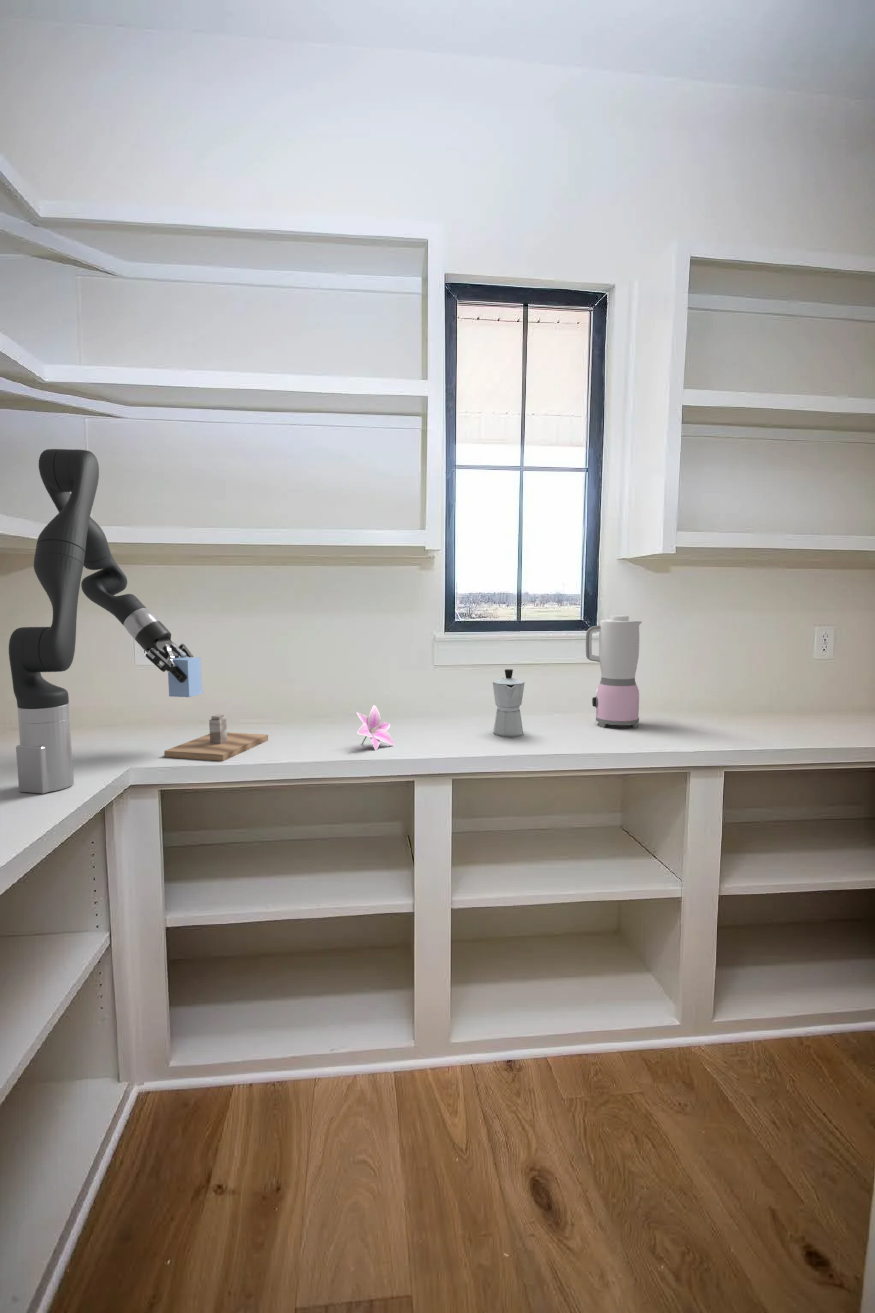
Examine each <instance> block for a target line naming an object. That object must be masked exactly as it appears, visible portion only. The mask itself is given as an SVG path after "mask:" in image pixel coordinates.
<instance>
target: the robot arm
mask: <svg viewBox="0 0 875 1313" xmlns="http://www.w3.org/2000/svg"><path fill="white" fill-rule="evenodd" d="M38 472H39V476H40V479H41V481H42V483H43V486H44V488H45V489H46V491H47V493H48V496H49V497H50V499H51V501H52V503H53V504H54V506H55V507H56V510H57V511H58V513H57V514H56V515H55V516H54V517H53V518H52V519H51V521H49V522H48V523H47V525H46V526H44V527H43V529H42V530H41V532H40V533H39V535H38V537H37V540H36V546H35V552H34V557H33V570H34V573H35V575H36V577H37V579H38V581H39V584H40V585H41V586H42V588H43V590H44V592H45V593H46V594H47V596H48V599H49V601H50V603H51V606H52V622H51V625H50V626H24V627H18V628H16V629H15V630H13V631H12V632H11V635H10V638H9V641H8V659H9V666H10V673H11V679H12V690H13V694H14V697H15V699H16V703H17V704H16V706H17V721H18V724H17V725H18V734H19V735H18V737H19V744H18V745H17V744H16V746H15V753H16V766H17V779H18V780H17V781H18V792H21V793H31V794H46V793H49V792H55V791H61V790H64V789H67V788H69V787H72V786H73V785H74V784H75V779H74V778H75V777H74V764H73V763H74V760H73V748H72V747H73V745H72V729H71V717H70V716H71V715H70V703H69V702H70V700H69V692H68V690H67V689H65V688H63V687H61V686H57V685H55V684H53V683H51V682H48V681H47V679H45V678H44V677H43V676H42V674H41V673H57V672H59V673H61V672H66V671H67V670H69V669H70V668H71V666H72V664H73V662H74V657H75V652H76V641H77V637H76V636H77V618H78V616H77V615H78V605H79V604H78V603H79V602H78V601H79V595H80V594H79V593H80V587H81V590H82V592H83V595H84V596H85V597H86V598H87V599H89V601H92V603H94V604H96V605H97V606H99V607H101V608H103V609H104V610H106V611H107V612H109V614H111V615H113V616H114V617H115V618H116V619H117V620H118V621H119V623H121V625H122V626H123V627H124V628H125V630H126V631H127V632H128V634H129V635H130V636H131V637H132V638H133V639H134V640H135V642H136V643H137V644H138V645H139V647H141V648H142V649H143V651H145V652H146V654H145V658H147V659H148V660H149V661H150V662H151V663H152V664H154V665H155V667H157V668H158V669H159V670H160V671H161V672H163V673H164V672H166V671H167V673H168V672H169V673H172V674H173V675H174V676H175V678H176V679H177V680H178V681H179V682H180V683H182V682H184V681H185V680H186V679H187V676H186V675H185V674H184V672H183V671H182V670H181V669H180V668H179V667H178V666H177V665H176V663H175V662H174V661H173V660H174V659H175V658H179V657H194V655H193V654H192V652H191V651H190V650H189V649H188V647H187V646H186V644H184V643H181V644H180V645H177V644H176V643H175V642H173V641H172V640H171V639H172V633H171V631H170V630H168V628H167V627H166V626H165V624H163V623H162V622H161V621H160V620H159V618H158V617H156V615H155V614H154V613H153V612H151V611H150V610H149V609H148V608H147V607H146V606H145V605H144V604H143V603H142V601H141V600H140V599H139V598H138V597H137V596H135V595H134V594H133V593H126V594H121V595H117V594H120V593H122V592H124V591H125V589H126V588H127V585H128V578H127V576H126V574H125V573H124V572H123V570H122V569H121V567H120V566H119V565H118V563H117V562H116V560H115V559H114V557H113V555H112V553H111V550H110V549H111V548H110V546H109V543H108V540H107V537H106V535H105V532H104V530H103V529H102V527H101V526H100V524H99V523H97V521H95V520H94V519H93V518H92V516H91V513H92V509H93V505H94V502H95V498H96V494H97V490H98V485H99V480H100V479H99V478H100V466H99V461H98V458H97V457H96V455H95V453H93V452H91V451H90V450H87V449H86V450H85V449H73V448H72V449H67V448H66V449H64V448H50V449H49V448H48V449H45V450H43V451H42V452H41V453H40V454H39V458H38ZM84 568H85V569H87V570H90V571H96V572H94V573H91V574H89V575H87V576H85V577H84V578H83V579H82V575H83V570H84ZM169 662H170V663H171V664H170V663H169ZM176 666H177V667H176Z"/></svg>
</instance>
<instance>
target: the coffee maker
mask: <svg viewBox="0 0 875 1313" xmlns="http://www.w3.org/2000/svg"><path fill="white" fill-rule="evenodd" d="M513 673H514V669H511V668H509V669H508V668H507V669H504V675H505V677H502V678H501V679H497V680H494V681H492V687H493V688H492V689H493V695H494V702H495V706H496V707H497V708H496V710H495V711H496V712H495V719H494V725H493V731H492V732H493V735H494V736H498V737H503V738H509V737H510V738H512V737H513V738H516V737H519V736H523V735H524V728H523V721H522V715H521V709H520V706H521V705H522V704H523V695H524V689H525V683H526V682H525V681H523V680H519V679H516V678H513Z"/></svg>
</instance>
